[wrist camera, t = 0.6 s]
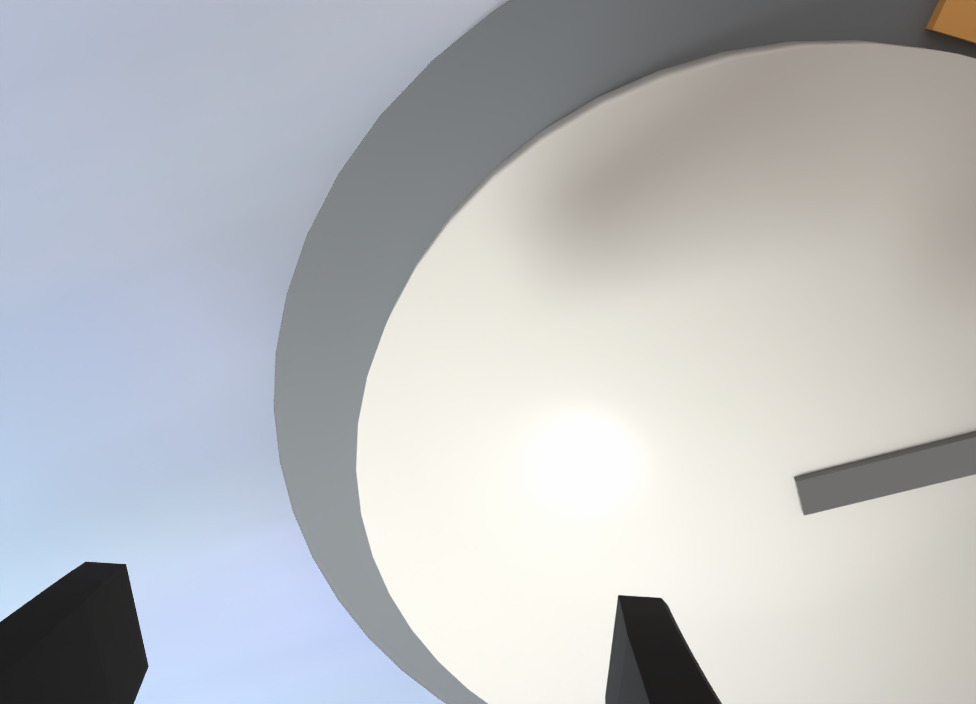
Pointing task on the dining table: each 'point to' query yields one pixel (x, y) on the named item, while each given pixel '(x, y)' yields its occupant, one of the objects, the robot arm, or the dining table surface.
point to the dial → (699, 388)
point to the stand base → (447, 182)
